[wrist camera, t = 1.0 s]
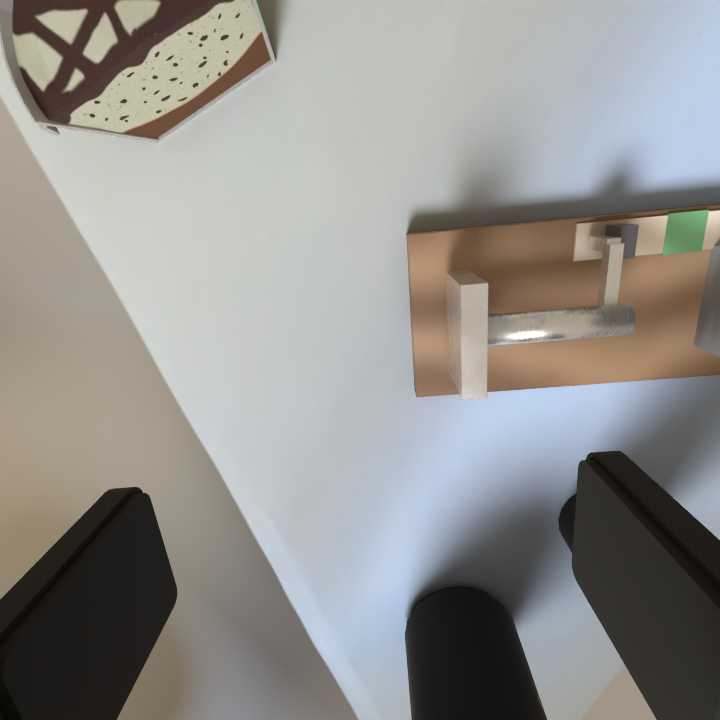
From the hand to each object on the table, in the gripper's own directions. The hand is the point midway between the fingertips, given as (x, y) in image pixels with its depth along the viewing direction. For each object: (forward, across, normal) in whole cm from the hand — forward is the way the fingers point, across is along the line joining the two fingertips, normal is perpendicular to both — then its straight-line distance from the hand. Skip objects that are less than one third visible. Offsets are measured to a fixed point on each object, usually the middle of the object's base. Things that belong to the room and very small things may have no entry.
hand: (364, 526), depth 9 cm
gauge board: (+23, -15, +1) cm, 28 cm away
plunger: (+21, -11, 0) cm, 24 cm away
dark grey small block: (+21, -16, -4) cm, 27 cm away
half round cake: (+23, +10, -17) cm, 31 cm away
